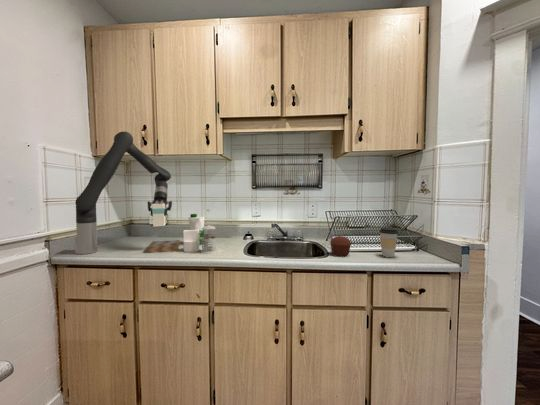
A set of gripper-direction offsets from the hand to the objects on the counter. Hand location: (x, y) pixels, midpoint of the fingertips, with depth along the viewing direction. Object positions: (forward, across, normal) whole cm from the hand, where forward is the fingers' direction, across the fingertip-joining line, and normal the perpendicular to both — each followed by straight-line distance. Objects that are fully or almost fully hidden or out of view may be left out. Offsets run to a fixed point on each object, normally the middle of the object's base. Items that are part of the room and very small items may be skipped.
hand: (158, 215), depth 142 cm
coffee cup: (+51, +121, -18) cm, 132 cm away
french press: (+23, +27, +8) cm, 36 cm away
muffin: (+43, +98, -11) cm, 108 cm away
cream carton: (+3, 0, +6) cm, 6 cm away
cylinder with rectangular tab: (+19, +18, +12) cm, 28 cm away
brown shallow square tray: (+13, +2, +17) cm, 21 cm away
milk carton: (+7, +21, +24) cm, 32 cm away
